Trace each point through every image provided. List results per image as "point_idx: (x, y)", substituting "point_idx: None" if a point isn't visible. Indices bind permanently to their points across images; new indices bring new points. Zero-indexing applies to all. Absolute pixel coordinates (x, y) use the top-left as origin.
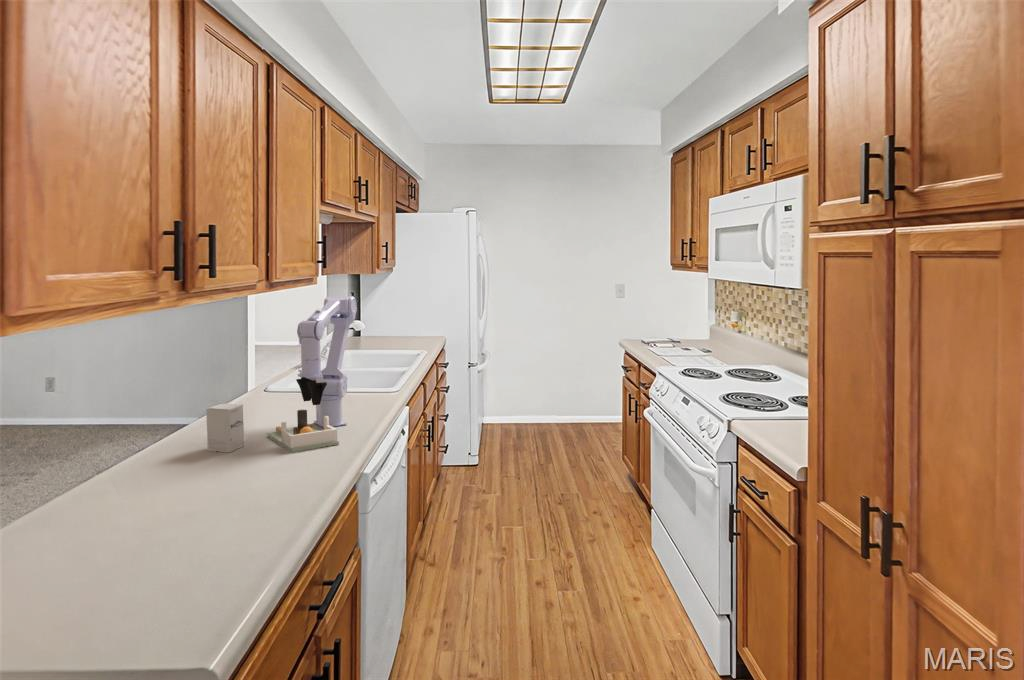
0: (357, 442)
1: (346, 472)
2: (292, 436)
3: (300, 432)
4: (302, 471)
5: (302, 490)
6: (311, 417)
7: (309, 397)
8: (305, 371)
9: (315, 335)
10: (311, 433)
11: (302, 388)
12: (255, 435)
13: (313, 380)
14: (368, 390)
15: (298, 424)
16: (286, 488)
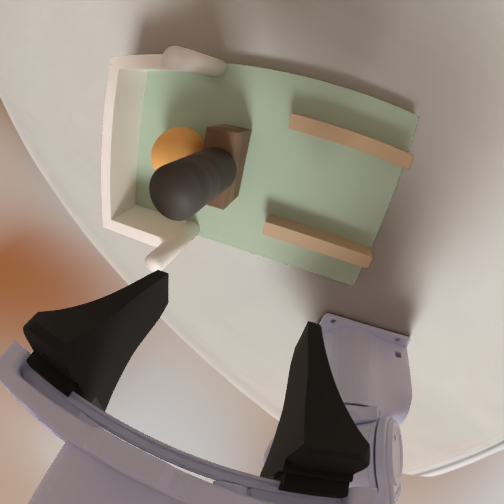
0: (121, 249)
1: (8, 112)
2: (111, 63)
3: (177, 128)
4: (36, 46)
5: (3, 33)
6: (452, 364)
7: (293, 358)
8: (62, 474)
9: None
10: (103, 134)
11: (302, 391)
12: (460, 102)
13: (63, 389)
14: (441, 471)
15: (207, 149)
16: (15, 13)
